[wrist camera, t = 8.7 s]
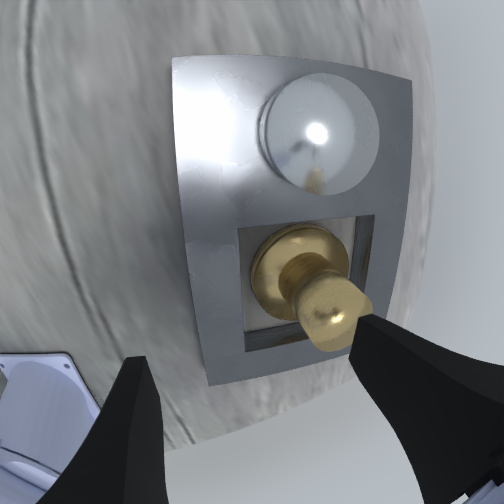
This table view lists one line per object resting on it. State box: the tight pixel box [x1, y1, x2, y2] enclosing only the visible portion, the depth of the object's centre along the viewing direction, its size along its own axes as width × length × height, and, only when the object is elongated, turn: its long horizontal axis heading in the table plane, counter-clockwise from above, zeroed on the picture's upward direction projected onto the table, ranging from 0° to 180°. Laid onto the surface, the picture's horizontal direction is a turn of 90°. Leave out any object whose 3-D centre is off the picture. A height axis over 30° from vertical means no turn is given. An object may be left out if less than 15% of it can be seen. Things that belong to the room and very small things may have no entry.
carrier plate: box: [172, 55, 413, 386], centre depth 17 cm, size 20×14×4 cm
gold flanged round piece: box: [250, 223, 373, 352], centre depth 17 cm, size 6×6×6 cm
